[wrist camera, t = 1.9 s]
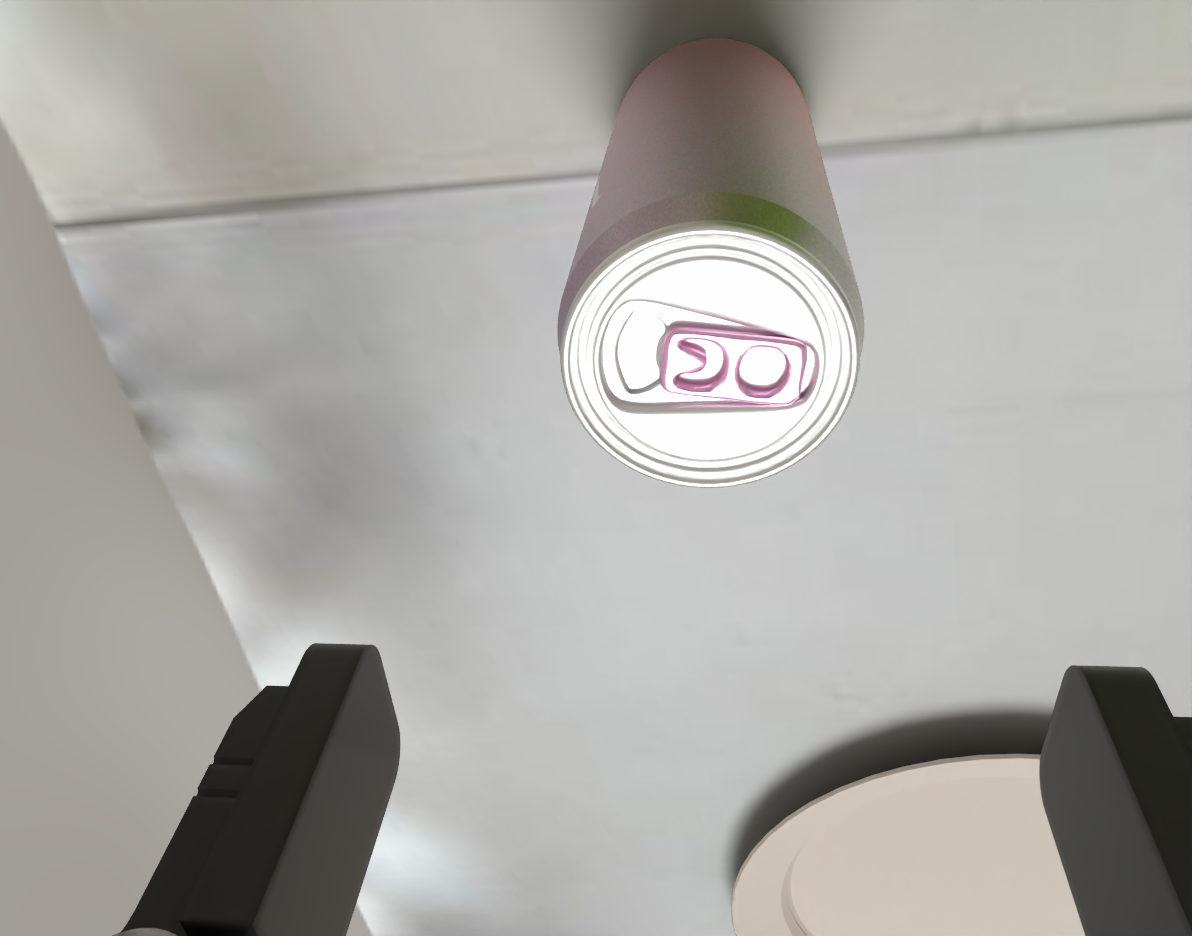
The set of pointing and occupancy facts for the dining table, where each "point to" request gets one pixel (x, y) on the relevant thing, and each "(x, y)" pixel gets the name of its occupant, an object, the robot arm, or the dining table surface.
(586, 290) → the beverage can
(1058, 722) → the robot arm
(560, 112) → the dining table surface
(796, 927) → the plate
